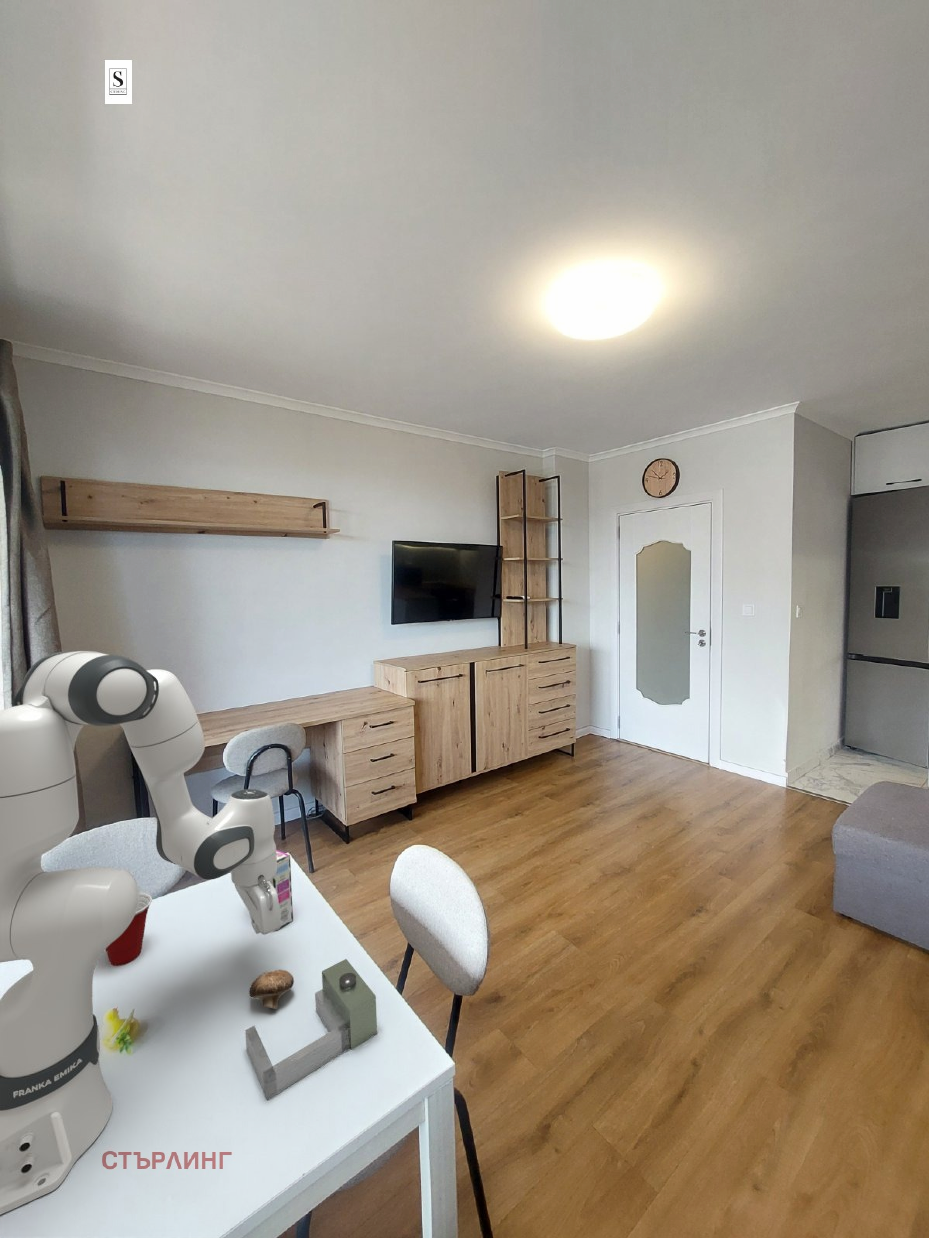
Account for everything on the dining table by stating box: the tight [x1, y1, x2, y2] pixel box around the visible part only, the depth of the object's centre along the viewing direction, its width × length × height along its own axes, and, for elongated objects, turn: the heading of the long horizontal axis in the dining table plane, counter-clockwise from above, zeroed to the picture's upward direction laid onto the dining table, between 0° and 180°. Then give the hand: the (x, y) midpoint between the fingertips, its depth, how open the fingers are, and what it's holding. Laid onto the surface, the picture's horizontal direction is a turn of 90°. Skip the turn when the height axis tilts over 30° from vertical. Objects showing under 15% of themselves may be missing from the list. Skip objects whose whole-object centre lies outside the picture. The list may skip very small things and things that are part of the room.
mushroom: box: [248, 969, 295, 1010], centre depth 97 cm, size 8×8×6 cm
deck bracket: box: [244, 958, 378, 1101], centre depth 88 cm, size 19×12×8 cm, turn 128°
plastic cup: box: [105, 892, 153, 967], centre depth 111 cm, size 11×11×12 cm
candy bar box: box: [270, 849, 294, 932], centre depth 123 cm, size 11×5×16 cm, turn 55°
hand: (258, 928), depth 106 cm, fingers closed
